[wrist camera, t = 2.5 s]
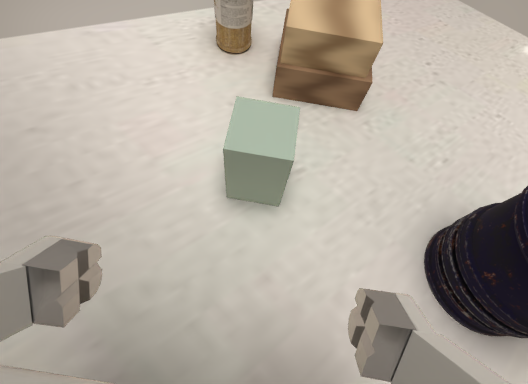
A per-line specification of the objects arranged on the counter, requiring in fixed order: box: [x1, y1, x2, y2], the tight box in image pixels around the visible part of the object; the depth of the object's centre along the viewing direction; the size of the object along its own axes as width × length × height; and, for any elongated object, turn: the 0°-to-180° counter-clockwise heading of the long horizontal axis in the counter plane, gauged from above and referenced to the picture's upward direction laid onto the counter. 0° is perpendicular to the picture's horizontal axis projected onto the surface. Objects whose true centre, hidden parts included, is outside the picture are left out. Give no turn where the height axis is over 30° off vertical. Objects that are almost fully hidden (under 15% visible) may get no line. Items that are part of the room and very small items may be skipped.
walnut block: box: [272, 9, 372, 111], centre depth 34 cm, size 10×10×4 cm
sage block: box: [223, 96, 300, 206], centre depth 25 cm, size 5×5×8 cm
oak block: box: [280, 0, 383, 78], centre depth 30 cm, size 9×9×4 cm
